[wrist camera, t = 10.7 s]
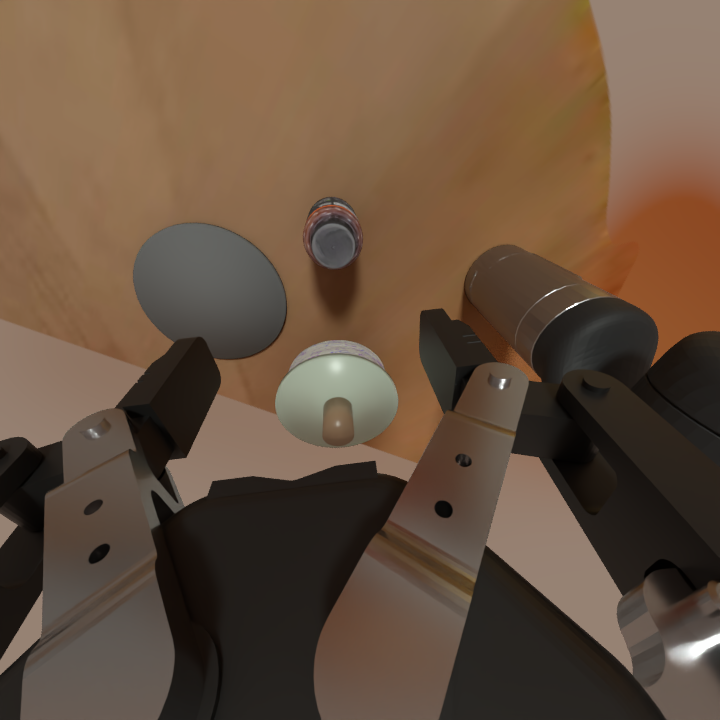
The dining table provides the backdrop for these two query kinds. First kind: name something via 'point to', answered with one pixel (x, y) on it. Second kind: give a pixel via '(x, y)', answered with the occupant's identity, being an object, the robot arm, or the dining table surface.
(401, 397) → the dining table surface
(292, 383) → the lid
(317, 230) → the supplement bottle
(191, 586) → the robot arm
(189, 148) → the dining table surface
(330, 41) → the dining table surface
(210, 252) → the mat
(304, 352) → the paper bowls
